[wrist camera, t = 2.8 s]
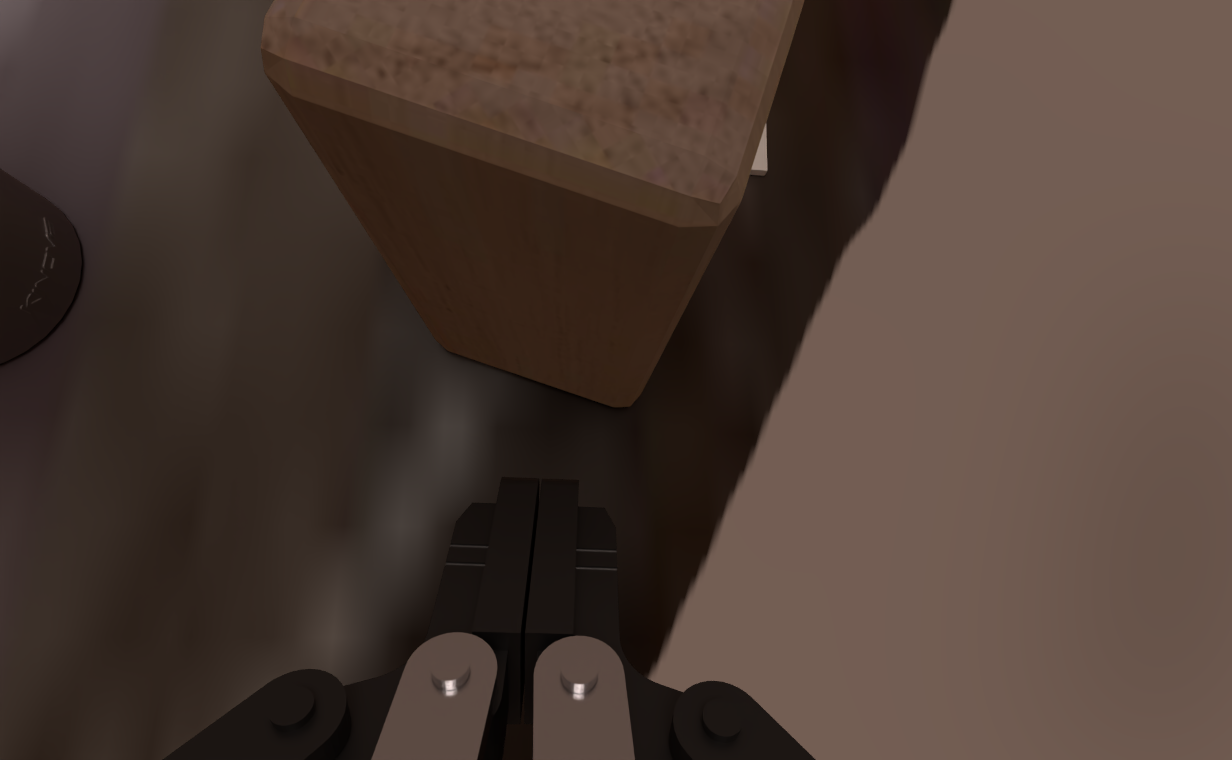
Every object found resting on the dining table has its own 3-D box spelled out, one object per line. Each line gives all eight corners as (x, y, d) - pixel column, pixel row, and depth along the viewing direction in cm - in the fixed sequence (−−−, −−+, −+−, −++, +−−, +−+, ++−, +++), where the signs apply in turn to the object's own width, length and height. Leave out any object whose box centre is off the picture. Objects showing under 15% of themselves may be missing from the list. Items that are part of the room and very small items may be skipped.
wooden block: (506, 172, 34) (429, -321, 15) (692, 235, 34) (863, -175, 14) (431, 349, 31) (218, 42, 12) (632, 418, 31) (741, 219, 12)
